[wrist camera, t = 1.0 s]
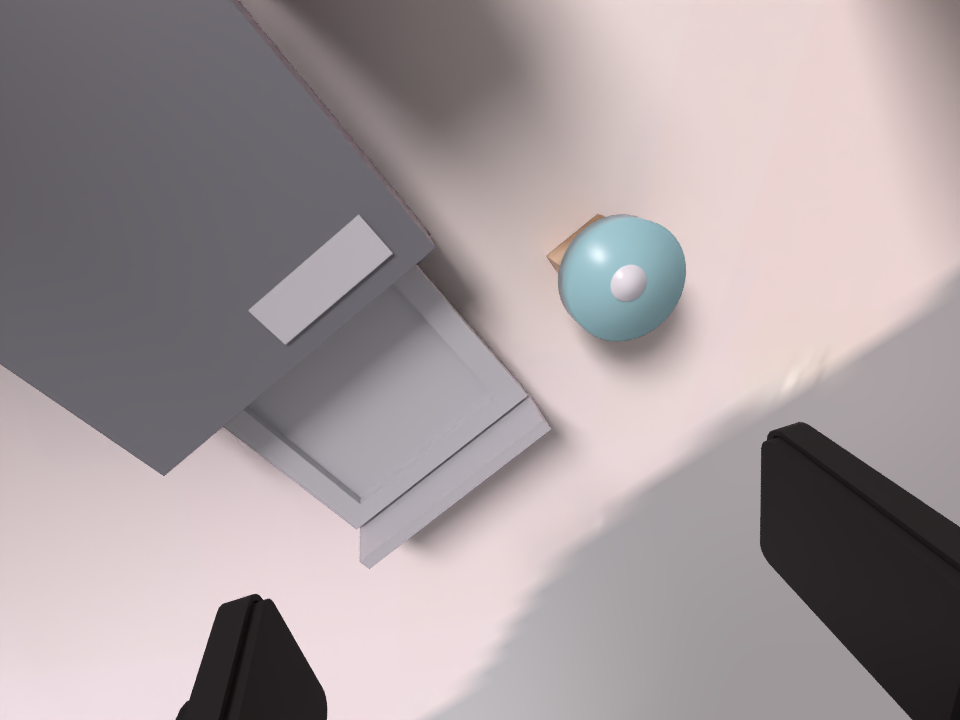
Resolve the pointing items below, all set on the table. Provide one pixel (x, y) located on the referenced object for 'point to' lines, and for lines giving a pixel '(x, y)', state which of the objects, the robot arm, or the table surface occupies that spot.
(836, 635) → the robot arm
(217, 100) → the box
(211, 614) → the table surface
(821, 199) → the table surface
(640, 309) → the dome with round knob
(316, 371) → the tray
